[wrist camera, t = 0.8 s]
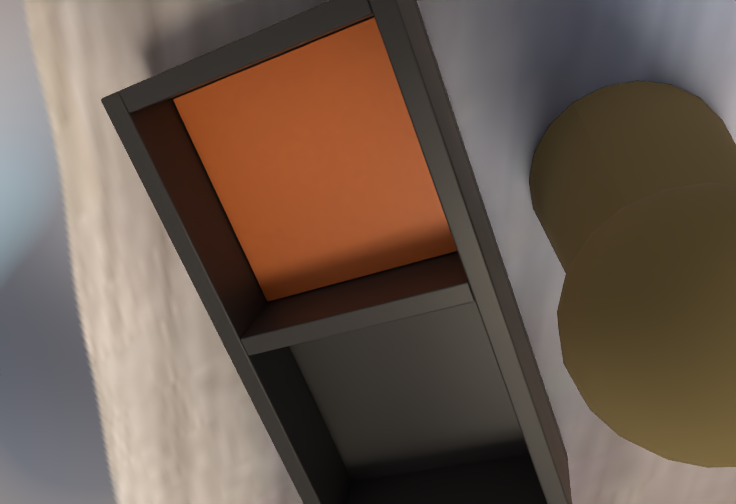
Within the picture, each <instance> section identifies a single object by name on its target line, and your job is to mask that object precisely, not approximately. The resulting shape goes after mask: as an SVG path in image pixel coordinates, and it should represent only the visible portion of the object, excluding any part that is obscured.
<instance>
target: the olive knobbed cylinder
mask: <svg viewBox="0 0 736 504" xmlns="http://www.w3.org/2000/svg"><path fill="white" fill-rule="evenodd" d="M529 184H530V191H531V198H532V205H533V209H534V211H535V213H536V215H537V217H538V219H539V221H540V223H541V225H542V227H543V229H544V231H545V233H546V235H547V237H548V239H549V241H550V243H551V245H552V247H553V249H554V251H555V253H556V255H557V257H558V259H559V261H560V263H561V265H562V267H563V269H564V271H565V273H566V276H565V280H564V284H563V289H562V293H561V297H560V302H559V306H558V310H557V316H558V328H559V335H560V342H561V349H562V356H563V363H564V365H565V367H566V368H567V370H568V372H569V374H570V376H571V377H572V379H573V381H574V383H575V385H576V386H577V388H578V390H579V392H580V394H581V395H582V397H583V399H584V400H585V402H586V404H587V405H588V407H589V408H590V410H591V411H592V412H593V413H594V414H596V415H597V416H598V417H599V418H600V419H601V420H602V421H603V422H604V423H606V424H607V425H608V426H609V427H610V428H611V429H612V430H613V431H614V432H616V433H617V434H618V435H619V436H621V437H623V438H625V439H626V440H628V441H630V442H632V443H634V444H636V445H638V446H641V447H643V448H645V449H647V450H649V451H651V452H653V453H655V454H657V455H659V456H661V457H663V458H666V459H668V460H672V461H677V462H682V463H687V464H693V465H698V466H703V467H708V468H711V467H736V144H735V142H734V141H733V139H732V137H731V135H730V133H729V131H728V130H727V128H726V126H725V124H724V122H723V120H722V119H721V118H720V117H719V116H718V115H717V114H716V113H715V112H714V111H713V110H712V109H711V108H710V107H709V106H708V105H707V104H706V103H705V102H704V101H703V100H702V99H701V98H699V97H697V96H695V95H693V94H690V93H688V92H686V91H684V90H682V89H680V88H678V87H675V86H673V85H671V84H663V83H654V82H645V81H632V82H627V83H622V84H617V85H611V86H606V87H602V88H600V89H598V90H597V91H595V92H593V93H591V94H589V95H587V96H585V97H583V98H581V99H579V100H577V101H575V102H573V103H572V104H571V105H570V106H569V107H568V108H567V109H566V110H565V111H564V112H563V113H562V114H561V115H560V116H559V117H557V118H556V119H555V120H554V121H553V122H552V123H551V124H550V125H549V127H548V129H547V130H546V132H545V134H544V136H543V138H542V139H541V141H540V143H539V145H538V147H537V148H536V150H535V152H534V157H533V162H532V167H531V173H530V178H529Z"/></svg>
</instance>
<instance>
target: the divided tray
mask: <svg viewBox="0 0 736 504" xmlns="http://www.w3.org/2000/svg"><path fill="white" fill-rule="evenodd" d="M101 101H102V103H103V105H104V107H105V109H106V111H107V113H108V115H109V117H110V119H111V121H112V123H113V125H114V127H115V129H116V131H117V133H118V135H119V137H120V139H121V141H122V143H123V145H124V147H125V149H126V151H127V153H128V155H129V157H130V159H131V161H132V163H133V165H134V167H135V169H136V171H137V173H138V175H139V177H140V179H141V181H142V183H143V185H144V187H145V189H146V191H147V193H148V195H149V197H150V199H151V201H152V203H153V205H154V207H155V209H156V211H157V213H158V215H159V217H160V219H161V221H162V223H163V225H164V227H165V229H166V231H167V233H168V235H169V237H170V239H171V241H172V243H173V245H174V247H175V249H176V251H177V253H178V255H179V257H180V259H181V261H182V263H183V265H184V266H185V268H186V270H187V272H188V274H189V276H190V278H191V280H192V282H193V284H194V286H195V288H196V290H197V292H198V294H199V296H200V298H201V300H202V302H203V304H204V306H205V308H206V310H207V312H208V314H209V316H210V318H211V320H212V322H213V324H214V326H215V328H216V330H217V332H218V334H219V336H220V338H221V340H222V342H223V344H224V346H225V348H226V350H227V352H228V354H229V356H230V358H231V360H232V362H233V364H234V366H235V368H236V370H237V372H238V374H239V376H240V378H241V380H242V382H243V384H244V386H245V388H246V390H247V392H248V394H249V396H250V398H251V400H252V402H253V404H254V406H255V408H256V410H257V412H258V414H259V416H260V418H261V420H262V422H263V424H264V426H265V428H266V430H267V432H268V434H269V436H270V438H271V440H272V442H273V444H274V446H275V448H276V450H277V452H278V454H279V455H280V457H281V459H282V461H283V463H284V465H285V467H286V469H287V471H288V473H289V475H290V477H291V479H292V481H293V483H294V485H295V487H296V489H297V491H298V493H299V495H300V497H301V499H302V501H303V503H304V504H572V499H571V489H570V479H569V469H568V458H567V453H566V450H565V447H564V444H563V441H562V438H561V435H560V432H559V429H558V426H557V423H556V420H555V417H554V414H553V411H552V408H551V405H550V402H549V399H548V396H547V393H546V390H545V387H544V384H543V381H542V378H541V375H540V372H539V369H538V366H537V363H536V360H535V357H534V354H533V351H532V348H531V345H530V342H529V339H528V336H527V333H526V330H525V327H524V324H523V321H522V318H521V315H520V312H519V309H518V306H517V303H516V300H515V297H514V294H513V291H512V288H511V285H510V282H509V279H508V276H507V273H506V270H505V267H504V264H503V261H502V258H501V255H500V252H499V249H498V246H497V243H496V240H495V237H494V234H493V231H492V228H491V225H490V222H489V219H488V216H487V213H486V210H485V207H484V204H483V201H482V198H481V195H480V192H479V189H478V186H477V183H476V180H475V177H474V174H473V171H472V168H471V165H470V162H469V159H468V156H467V153H466V150H465V147H464V144H463V141H462V138H461V135H460V132H459V129H458V126H457V123H456V120H455V117H454V114H453V111H452V108H451V105H450V102H449V99H448V96H447V93H446V90H445V87H444V84H443V81H442V78H441V75H440V72H439V69H438V66H437V63H436V60H435V57H434V54H433V51H432V48H431V45H430V42H429V39H428V36H427V33H426V30H425V27H424V24H423V21H422V18H421V15H420V12H419V9H418V6H417V3H416V0H330V1H328V2H326V3H323V4H321V5H319V6H316V7H314V8H312V9H309V10H307V11H305V12H302V13H300V14H298V15H295V16H293V17H291V18H288V19H286V20H284V21H281V22H279V23H277V24H274V25H272V26H270V27H267V28H265V29H263V30H260V31H258V32H256V33H253V34H251V35H249V36H246V37H244V38H242V39H239V40H237V41H235V42H232V43H230V44H228V45H225V46H223V47H221V48H218V49H216V50H214V51H211V52H209V53H207V54H204V55H202V56H200V57H197V58H195V59H193V60H190V61H188V62H186V63H183V64H181V65H179V66H176V67H174V68H172V69H169V70H167V71H165V72H162V73H160V74H158V75H155V76H153V77H151V78H148V79H146V80H144V81H141V82H139V83H137V84H134V85H132V86H130V87H127V88H125V89H123V90H120V91H118V92H116V93H113V94H111V95H109V96H106V97H104V98H102V99H101Z"/></svg>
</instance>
